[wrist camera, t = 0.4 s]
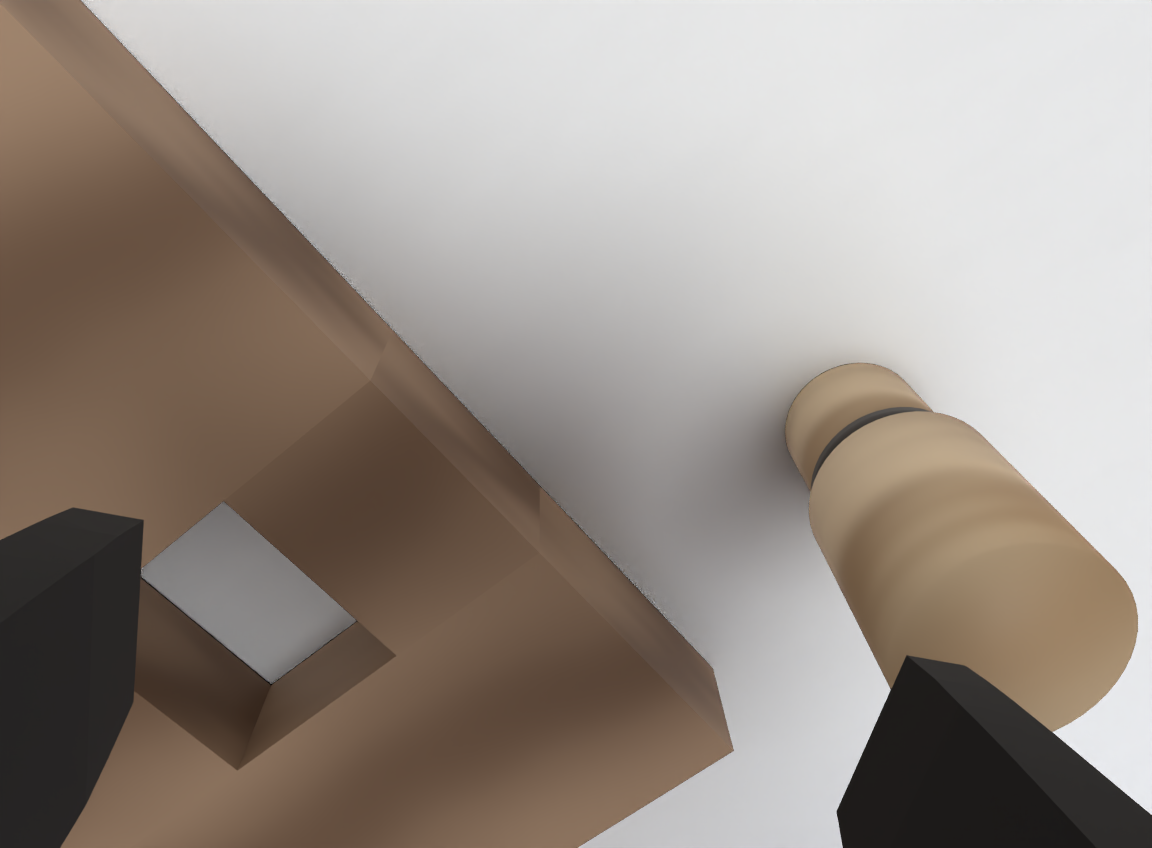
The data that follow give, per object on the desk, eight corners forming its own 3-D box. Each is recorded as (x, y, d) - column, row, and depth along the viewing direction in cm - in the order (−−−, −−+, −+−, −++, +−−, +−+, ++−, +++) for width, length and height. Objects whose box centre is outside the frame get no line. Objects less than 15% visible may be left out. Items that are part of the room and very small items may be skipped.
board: (713, 668, 21) (733, 750, 19) (238, 976, 24) (206, 1076, 22) (40, -42, 15) (-50, -49, 13) (-462, 503, 18) (-604, 575, 16)
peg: (963, 435, 19) (1178, 660, 12) (827, 526, 20) (964, 782, 13) (878, 314, 18) (1066, 494, 11) (737, 416, 18) (840, 637, 12)
